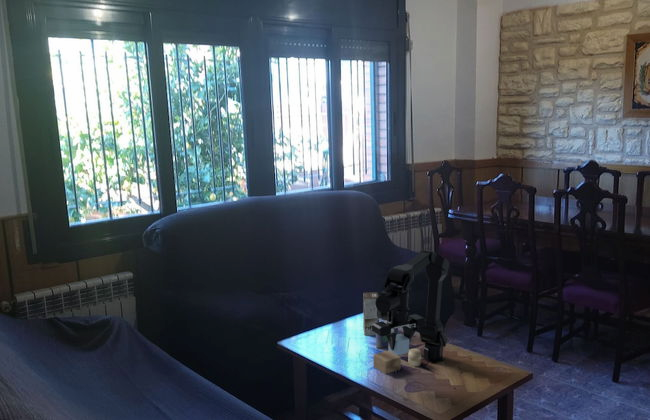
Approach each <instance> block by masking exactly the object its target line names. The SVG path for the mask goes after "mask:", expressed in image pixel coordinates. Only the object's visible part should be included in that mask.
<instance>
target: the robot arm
mask: <svg viewBox="0 0 650 420" xmlns="http://www.w3.org/2000/svg"><path fill="white" fill-rule="evenodd" d="M423 269H424V271H425V272H424V273H425V274H426V277H427V279H428V286H427V287H428V291H427V299H426V300H427V302H426V315H425V316H426V317H423V316H421V315H419V314H417V313H414V314H410V315H409V313H411V308H409V291H411V290H412V287H411V284H412V283H413V282H414V280H415V279H414V278H415V275H417V274H418V273H419V272H420V271H422V270H423ZM449 269H450V262H449V261H448V259H447V258H446V257H443V256H441V255H440V254H437V253H436V252H435V251H433V250H430V249H429V250H427V249H421V250H420V251H419V253H418V254H416V255H415V256H414V257H413V258H411V259H410V260H408V261H407V262H406V263H404V264H400V265H395V266H394V267H391V269H389V270H388V273H387V276H386V278H385V281H384V283H383V286H382V289H383V290H382V291H381V292H380V295H379V297H378V298H377V299H376V301H375V304H376V307H377V317H378V318H379V319H380V318H381V320H383V321H379V322H377V323H374V324H373V325H372V331H373V332H375V333H376V334H378V335H380V336H386V337H387V340H388V343H389V345H390V348H391V350H392V351H393V350H394V347H395V341H396V333H394V329H395V328H398V329H399V328H402V330H403V334H402V335H404V336H405V337H407V338H409V342H410V341H411V339H412V338H413V336H414V334H416V332H417V331H419V337H420V342H421V343H424V347H423V355H422V354H421V358H422V359H424V360H425V361H428V362H430V363H431V364H435V363H437V362H442V361H445V360H446V357H444V356H443V355H444V354H443V353H444V348H445V347H446V346H447V344H448V337H447V336H446V334H445V333H444V325H443V323H442V321H441V318H440V316H441V303H442V302H441V301H442V291H443V281H444V280H445V279H446V277H447V275H448V273H449V272H448V271H449ZM384 320H387V321H388V323H390V324H386V323H385V321H384ZM416 326H417V327H416Z"/></svg>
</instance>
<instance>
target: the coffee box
mask: <svg viewBox="0 0 650 420" xmlns="http://www.w3.org/2000/svg"><path fill="white" fill-rule="evenodd" d="M379 296H380V294H379V292H377V291H375V292H371V291H369V292H363V303H362V305H363V315H362V316H363V317H362V319H363V323H362V325H363V335H364V336H376V333H375V332H373V331H372V325H373V324H374V323H377V322H380V318H378V317H377V307H376V304H375V301H376V299H377V298H378V297H379Z"/></svg>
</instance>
